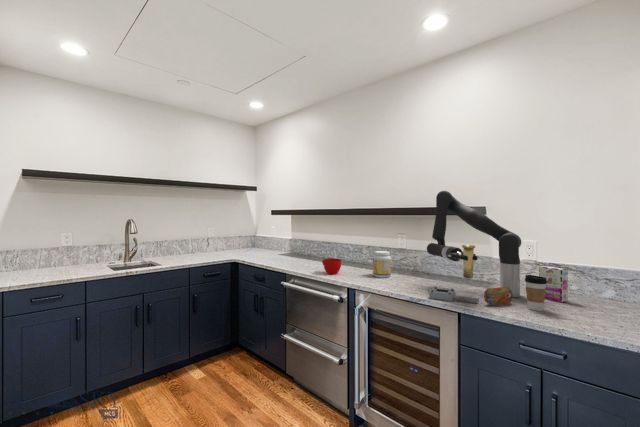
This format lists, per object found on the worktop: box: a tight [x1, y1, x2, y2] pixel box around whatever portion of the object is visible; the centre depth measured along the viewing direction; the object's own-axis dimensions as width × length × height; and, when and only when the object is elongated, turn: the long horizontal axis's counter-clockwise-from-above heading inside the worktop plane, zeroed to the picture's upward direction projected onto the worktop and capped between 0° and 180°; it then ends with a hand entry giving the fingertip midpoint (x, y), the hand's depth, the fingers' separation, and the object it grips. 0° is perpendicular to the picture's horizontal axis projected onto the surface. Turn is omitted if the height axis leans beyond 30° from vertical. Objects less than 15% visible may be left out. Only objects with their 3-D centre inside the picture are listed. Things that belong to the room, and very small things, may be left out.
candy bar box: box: [538, 265, 569, 303], centre depth 158 cm, size 11×5×16 cm, turn 21°
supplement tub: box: [372, 250, 392, 279], centre depth 212 cm, size 12×12×17 cm
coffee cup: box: [524, 274, 547, 312], centre depth 142 cm, size 8×8×15 cm
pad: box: [456, 295, 480, 305], centre depth 155 cm, size 9×9×1 cm
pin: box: [461, 244, 476, 279], centre depth 155 cm, size 6×6×16 cm
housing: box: [428, 286, 456, 302], centre depth 160 cm, size 11×11×4 cm
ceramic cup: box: [321, 257, 342, 275], centre depth 222 cm, size 13×17×10 cm
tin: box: [483, 286, 513, 307], centre depth 149 cm, size 15×3×8 cm, turn 105°
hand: (471, 258), depth 152 cm, fingers closed on pin, 4 cm apart
